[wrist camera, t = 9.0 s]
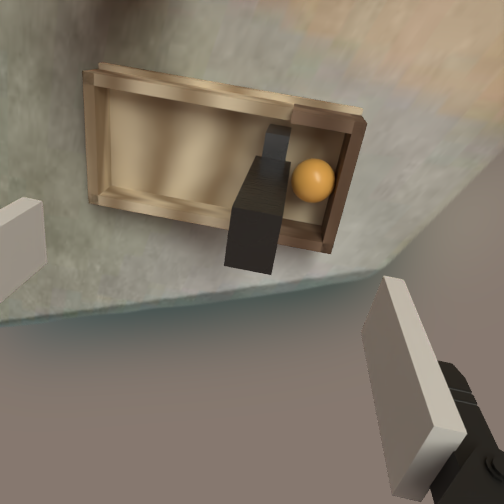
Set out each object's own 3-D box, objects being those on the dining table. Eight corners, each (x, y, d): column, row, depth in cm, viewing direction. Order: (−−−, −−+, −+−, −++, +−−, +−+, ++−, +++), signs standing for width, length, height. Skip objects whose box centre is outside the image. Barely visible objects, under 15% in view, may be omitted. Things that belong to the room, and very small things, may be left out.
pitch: (106, 194, 43) (83, 211, 39) (103, 62, 37) (75, 65, 33) (327, 236, 42) (329, 258, 38) (361, 107, 36) (369, 117, 32)
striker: (251, 204, 40) (220, 292, 26) (264, 122, 36) (236, 173, 22) (280, 209, 40) (265, 301, 26) (297, 128, 36) (289, 183, 22)
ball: (286, 190, 39) (288, 205, 36) (294, 150, 37) (297, 162, 34) (326, 196, 39) (332, 212, 36) (336, 156, 37) (343, 169, 34)
